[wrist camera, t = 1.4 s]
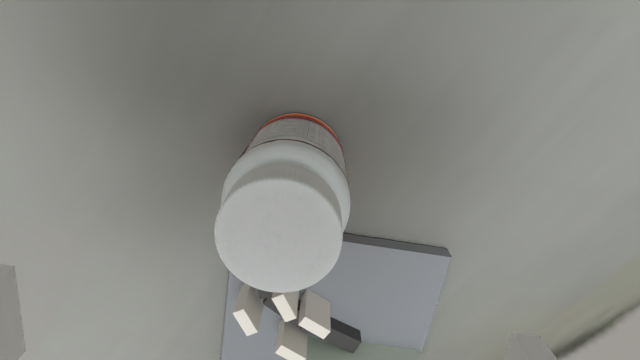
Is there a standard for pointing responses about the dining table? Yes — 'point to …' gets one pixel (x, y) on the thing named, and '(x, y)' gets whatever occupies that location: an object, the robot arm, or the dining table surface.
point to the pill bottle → (285, 206)
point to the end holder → (357, 352)
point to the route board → (341, 303)
